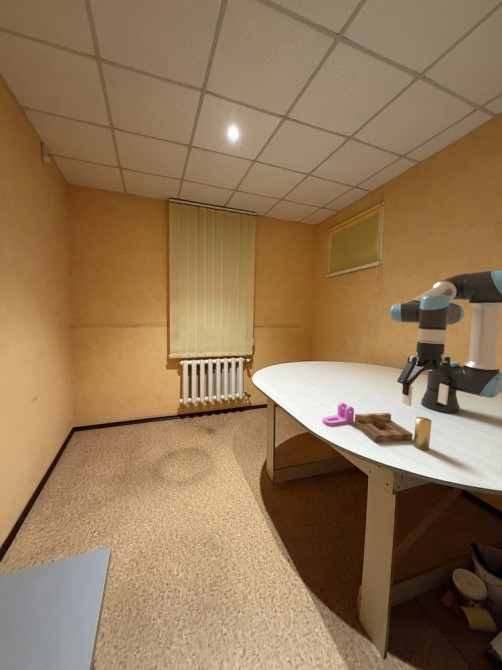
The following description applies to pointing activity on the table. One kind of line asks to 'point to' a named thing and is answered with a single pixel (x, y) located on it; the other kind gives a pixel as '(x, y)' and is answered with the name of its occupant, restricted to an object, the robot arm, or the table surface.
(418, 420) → the cylinder
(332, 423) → the bracket
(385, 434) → the frame
